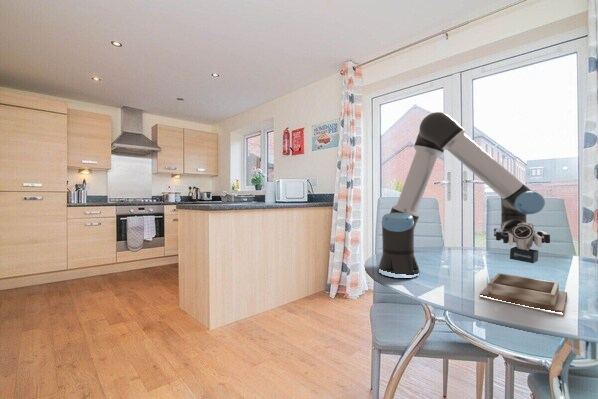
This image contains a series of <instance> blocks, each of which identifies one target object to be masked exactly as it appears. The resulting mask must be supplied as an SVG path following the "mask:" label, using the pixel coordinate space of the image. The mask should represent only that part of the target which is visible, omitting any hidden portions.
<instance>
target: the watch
mask: <svg viewBox="0 0 598 399" xmlns="http://www.w3.org/2000/svg"><path fill="white" fill-rule="evenodd" d="M534 231H535V229H534V224H533V223H530V222H526V223H519V224H518V225H517V226H515V227H514V228H513V229H512V235H513V237H514V241H515V242H516V243H515V246H514V247H511V248H510V251H509V259H510V260H514V261H517V262H518V261H519V262H523V263H530V264H535V263H536V262H538V261H539V250H538V249H533V248H532V246H533V244H534V241H533V239H534V236H535V235H536V233H534Z"/></svg>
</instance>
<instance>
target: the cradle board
mask: <svg viewBox="0 0 598 399" xmlns="http://www.w3.org/2000/svg"><path fill="white" fill-rule="evenodd" d="M559 283H560V282H557V281H552V280H544V279H538V278H531V277H525V276H520V275H519V276H518V275H513V274H512V275H511V274H506V273H497V274H496V275H495V276H494V277H493V278H492V279H491V280H490V281H488V282H487V285H486V287H485V288H484V289H483V290H481V291H480V293H479V296H480V295H483V296H487V297H491V298H494V299H498V300H502V301H506V302H511V303H515V304H520V305H525V306H529V307H534V308H540V309H545V310H551V311H555V312H562V313H563V312H564V313H565V309H566V304H567V299H568V298H567V297H568V292H567V291H563V290H559V289H560V288H559V285H560V284H559ZM565 303H566V304H565ZM564 308H565V309H564Z"/></svg>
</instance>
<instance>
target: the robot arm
mask: <svg viewBox="0 0 598 399" xmlns="http://www.w3.org/2000/svg"><path fill="white" fill-rule="evenodd" d="M413 148H414V150H415V153H414V156H413V159H412V162H411V164H410V168H409V171H408V173H407V176H406V179H405V181H404V184H403V186H402V190H401V193H400V195H399V198H398V201H397V203H396V204H395V205H393V206H392V207H391V210H390V212H389V213H386V214H384V215H383V216H382V219H381V230H382V231H381V232H382V234H381V236H382V254H381V258H380V261H379V263H378V264H379V265H378V267H379V268H378V270H379V269H381V270H383V271H387V272H391V273H395V274H406V275H414V274H418V273H419V274H420V267H419V264H418V262H417V259H416V256H415V228H416V225H417V223H418V221H419V218H420V214H419V212H418V209H419V207H420V204H421V202H422V199H423V196H424V194H425V191H426V189H427V185H428V182H429V180H430V177H431V174H432V172H433V169H434V167H435V164H436V161H437V159H438V158H439V157H440V156H441V155H443V154H444V151H448V152H449V153H450V154H452V156H454V157H455V158H456V159H457V160H458V161H459V162H460V163H462V164H463V165H464V166H465V167H466V168H467V169H469V171H471V173H473V174H474V175H475V176H477V177H478V178H479V179H480V180H481V181H482V182H484V184H485V185H486V186H488V187H489V188H490V189H491V190H492V191H494V192H495V193H496V194H497V195H498V196H499V197H500V210H501V213H500V214H501V215H500V216H501V217H500V218H501V222H500V228H493V237H495V240H496V241H501V240H502V241H503V242H502V243H503V244H509V246H514V243H515V244H516V242H515V241H514V237H513V235H512V229H513V228H514V227H515V226H517V225H518V224H519V223H527V215H536V214H538V213H539V212H542V210H543V209H544V207H545V203H546V202H545V198H544V196H543V195H542V194H540V193H539V192H537V191H534V190H532V189H530V188H529V187H527V186H526V185H525V184H524V183H523V182H522V181H521V180H519V179H518V178H517V177H516V176H514V175H513V174H512V173H511V172H510V171H509V170H508V169H506V167H504V166H503V165H502V164H501V163H499V161H497V160H496V158H493V156H491V155H490V154H489V153H488V152H486V150H484V149H483V148H482V147H481V146H480V145H479V144H477V143H476V142H475V141H474V140H472V139H471V138H470V137H469V136H468V135H467V134H466V133H465V128H464V127H462V126H461V125H460V124H459V122H457V121H456V120H455V119H453V117H451V116H450V115H449V114H447V113H444V112H441V111H436V112H431V113H429V114H427V115H426V116H424V118H423V119H421V122H420V125H419V131H418V134H417V137H416V139H415V142H414V145H413ZM534 233H536V235H535V236H534V239H533V244H534V245H536V247H538V248H542V247H543V246H542V245H543V244H550V243H551V234H550V233H548V232H546V230H544V229H542V230H537V231H535V230H534Z"/></svg>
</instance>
